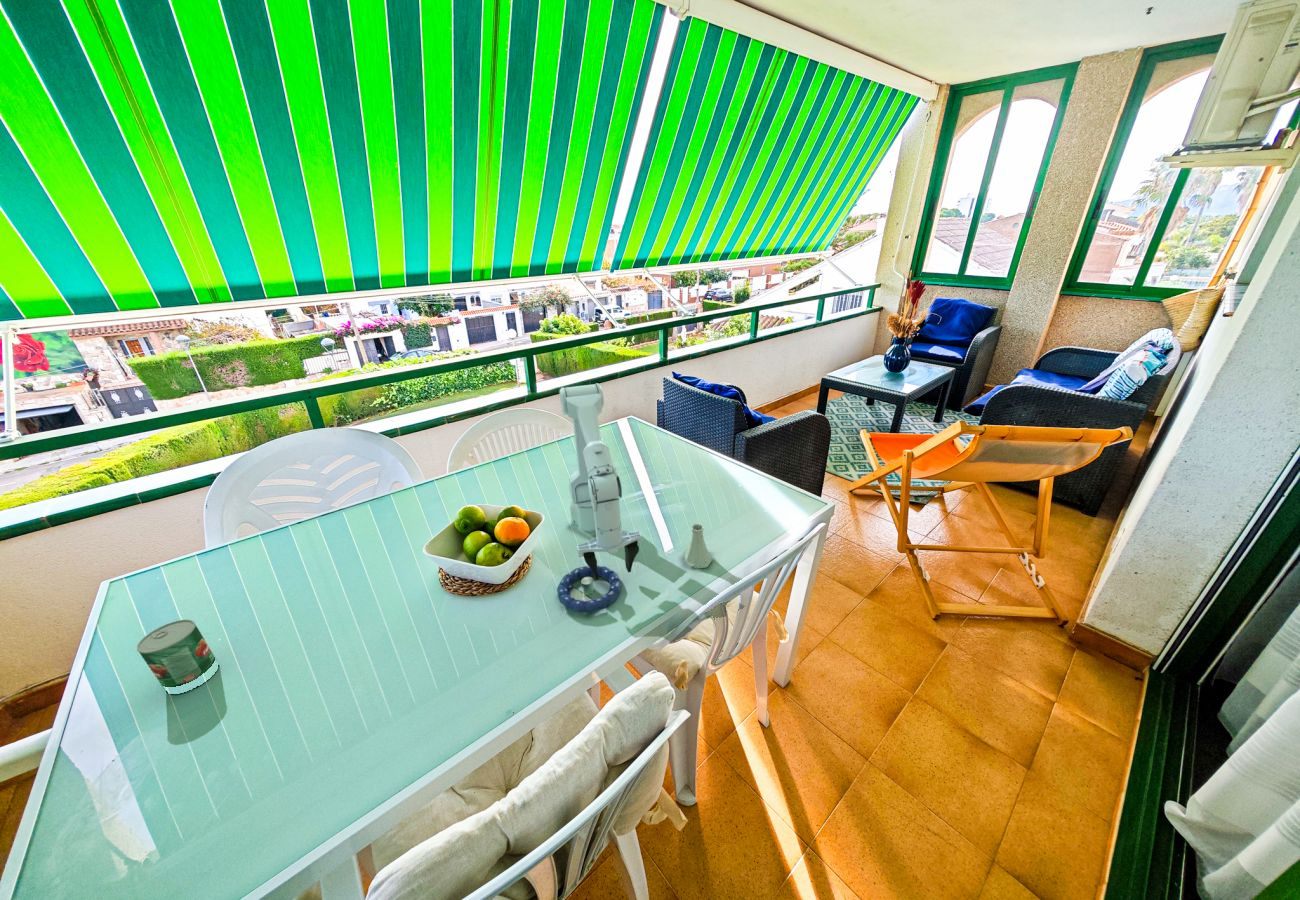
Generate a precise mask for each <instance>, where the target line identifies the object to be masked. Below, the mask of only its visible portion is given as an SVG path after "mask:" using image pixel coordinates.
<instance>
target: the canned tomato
mask: <svg viewBox="0 0 1300 900" xmlns="http://www.w3.org/2000/svg"><path fill="white" fill-rule="evenodd" d="M136 651H137V652H138V653H139V654H140V656H141V658H142V659H143V661H144V662H145V663H146V665H147V666H148V668H149V669H150V671H151V672H152V674H153V675H154V677H155V678H156V679H157V681H158V683H160V686H161V687H162V686H165V687H176V686H181V685H183V684H186V683H189V682H191V681H193V680H195V679H197V678H198V677H199V676H201V675H202V674H203V673H205V672H206V671H207V670H208V669H209V668H210V667H211V666H212V664H213V663H214V661H215V658H216V656H215V655H214V652H212V650H211V648H210V645H208V643H207V641H206V640H205V638H204V636H203V635H202V633H201V631H200V630H199V628H198V626H197V625H196V622H195V621H194V620H192V619H178V620H175V621H172V622H168V623H166V624H164V625H161V626H159V627H157V628H155V629H154V630H152V631H151V632H149V633H148V634H146V635H145V636H144V637H143V638H141V639H140V640H139V641H138V643H137V645H136ZM214 656H215V657H214ZM191 691H192V690H190V691H189V692H191Z"/></svg>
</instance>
